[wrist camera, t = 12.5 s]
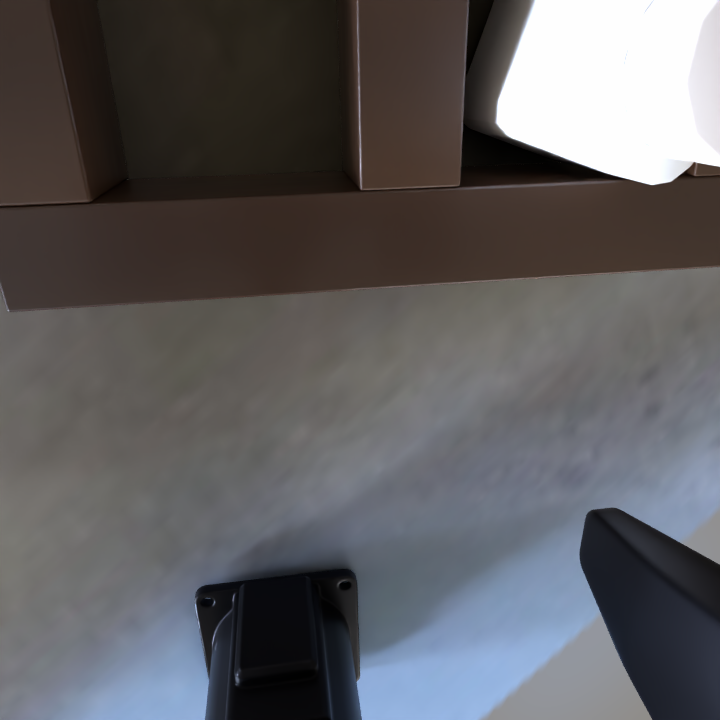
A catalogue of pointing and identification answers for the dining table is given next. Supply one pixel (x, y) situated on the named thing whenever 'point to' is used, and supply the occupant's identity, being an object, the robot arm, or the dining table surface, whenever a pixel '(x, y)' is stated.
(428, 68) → the stand
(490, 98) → the salt shaker
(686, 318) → the dining table surface
